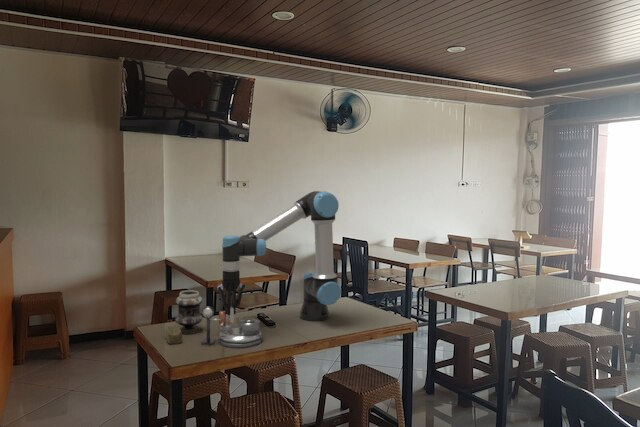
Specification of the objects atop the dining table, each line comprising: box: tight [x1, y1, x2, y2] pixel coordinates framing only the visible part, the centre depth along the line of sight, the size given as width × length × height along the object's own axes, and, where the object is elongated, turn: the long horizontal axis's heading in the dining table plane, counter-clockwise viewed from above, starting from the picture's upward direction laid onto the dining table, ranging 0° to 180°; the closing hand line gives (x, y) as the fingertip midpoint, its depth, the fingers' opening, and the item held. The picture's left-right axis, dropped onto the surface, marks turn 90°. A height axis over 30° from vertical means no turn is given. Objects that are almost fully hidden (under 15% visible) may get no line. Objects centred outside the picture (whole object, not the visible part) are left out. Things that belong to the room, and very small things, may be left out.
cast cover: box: [238, 317, 261, 336], centre depth 213 cm, size 9×9×6 cm
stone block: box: [165, 325, 183, 345], centre depth 211 cm, size 6×12×5 cm, turn 25°
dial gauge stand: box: [200, 305, 221, 346], centre depth 207 cm, size 8×5×16 cm, turn 89°
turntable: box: [217, 310, 262, 343], centre depth 213 cm, size 18×22×9 cm
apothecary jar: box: [174, 289, 203, 335], centre depth 223 cm, size 12×12×18 cm
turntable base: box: [217, 334, 263, 349], centre depth 212 cm, size 19×19×2 cm
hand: (231, 321), depth 220 cm, fingers closed
